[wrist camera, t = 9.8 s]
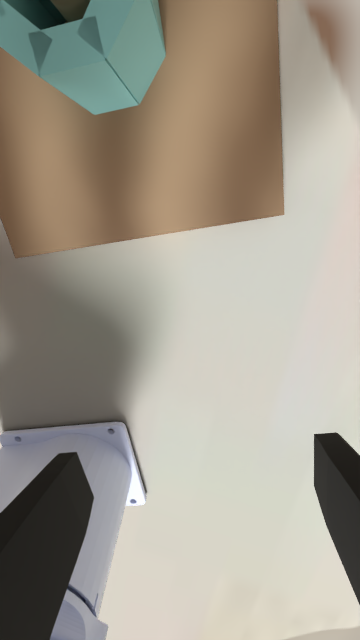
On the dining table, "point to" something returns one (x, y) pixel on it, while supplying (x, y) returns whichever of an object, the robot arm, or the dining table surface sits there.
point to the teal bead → (88, 48)
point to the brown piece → (149, 137)
